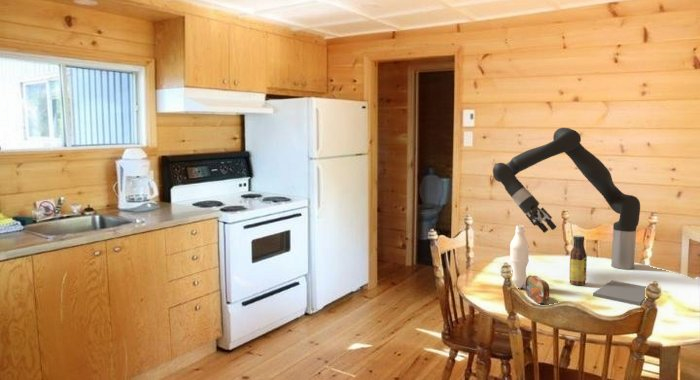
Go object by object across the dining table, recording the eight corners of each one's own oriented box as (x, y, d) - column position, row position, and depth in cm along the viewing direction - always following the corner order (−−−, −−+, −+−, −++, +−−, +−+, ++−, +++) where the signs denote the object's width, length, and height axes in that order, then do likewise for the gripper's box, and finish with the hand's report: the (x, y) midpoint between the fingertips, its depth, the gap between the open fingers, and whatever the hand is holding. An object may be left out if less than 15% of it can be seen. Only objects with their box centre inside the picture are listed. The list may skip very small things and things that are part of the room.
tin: (524, 293, 198) (525, 272, 197) (532, 293, 198) (533, 272, 198) (542, 307, 183) (543, 284, 182) (550, 306, 184) (551, 283, 183)
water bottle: (527, 285, 209) (529, 224, 206) (527, 290, 202) (529, 228, 199) (509, 283, 211) (510, 223, 208) (508, 288, 204) (510, 227, 201)
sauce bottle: (587, 286, 206) (589, 238, 204) (570, 285, 207) (573, 237, 205) (583, 281, 212) (585, 234, 210) (567, 281, 214) (569, 234, 211)
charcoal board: (611, 283, 210) (611, 280, 210) (655, 291, 199) (655, 288, 199) (593, 296, 194) (593, 293, 194) (639, 305, 184) (640, 302, 183)
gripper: (524, 196, 215) (550, 227, 208) (538, 193, 225) (563, 222, 219) (511, 207, 219) (537, 238, 212) (526, 204, 229) (550, 232, 223)
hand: (550, 230), depth 215 cm, fingers open, 8 cm apart
